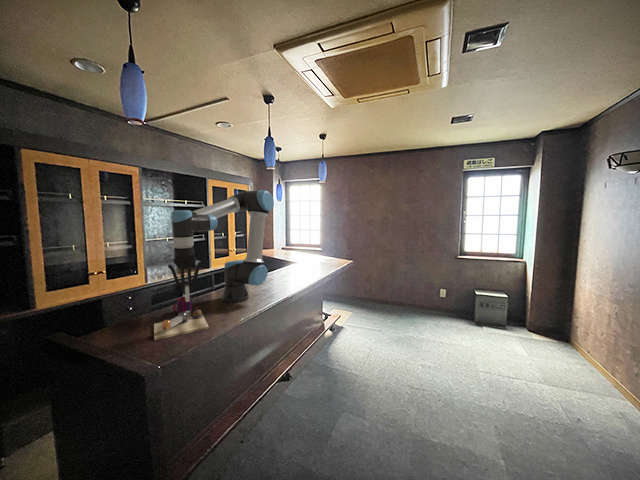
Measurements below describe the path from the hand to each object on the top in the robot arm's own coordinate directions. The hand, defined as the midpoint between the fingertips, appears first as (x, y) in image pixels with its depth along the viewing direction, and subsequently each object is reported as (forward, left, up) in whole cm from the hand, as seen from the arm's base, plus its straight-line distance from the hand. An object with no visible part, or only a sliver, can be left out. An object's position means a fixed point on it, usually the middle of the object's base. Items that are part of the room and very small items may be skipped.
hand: (187, 300), depth 110 cm
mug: (+1, -23, -13) cm, 26 cm away
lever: (+4, -4, -11) cm, 12 cm away
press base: (+3, -3, -13) cm, 13 cm away
